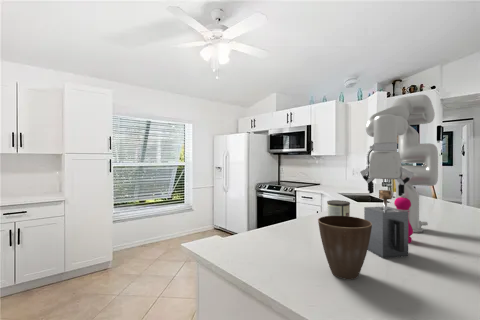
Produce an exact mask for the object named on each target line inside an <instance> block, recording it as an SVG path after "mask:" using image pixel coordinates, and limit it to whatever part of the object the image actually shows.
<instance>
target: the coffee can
mask: <svg viewBox="0 0 480 320" xmlns="http://www.w3.org/2000/svg"><path fill="white" fill-rule="evenodd" d="M326 204H327V216H350V217H351V211H350V210H351V209H350V205H351V203H350V201H348V200H347V201H346V200H338V199H335V200H334V199H331V200H327V201H326Z"/></svg>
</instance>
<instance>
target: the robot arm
mask: <svg viewBox="0 0 480 320" xmlns="http://www.w3.org/2000/svg"><path fill="white" fill-rule="evenodd" d="M434 119H435V109H434V106H433V103H432V100H431V98H430V97H429V95H427V94H416V95H409V96H402V97H400V98H397V99H395V100H394V101H393V102H392V104H391V105H390V107H388V108H384V109H382V110H381V111H378V112H376V113H374V114H372V115H371V116H370V117H369V118H368V120H367V122H366V125H365V131H366V134H367V136H368V137H371V138H373V143H372V145H370V146H369V149H370V150H372V151H373V152H372V151H371V153H370V157H369V165H368V167H367V168H364V169H363V170H360V175H361V177H362V179H364V181H366V183H367V191H368V193H369V194H374V189H375V187H374V183H375V182H373V181H374V180H375V179H379V180H394V183H395V200H396V199H397V198H399V197H400V196H402V195H403V194H404V195H405V197H404V198H407V199H409V200H410V202H411V207H410V208H409V210H410V211H409V212H410V213H409V214H408V218H409V222H410V224H411V226H412V229H413V234H417V233H423V232H424V228H423V227H424V226H428V224H429V223H428V221H421V220H420V194H419V192H418V191H417V189H416V188H415V187H414V186H422V187H423V186H425V187H434V186H435V185H437V184H438V182H439V150H438V148H437V146H436V144H433V143H420V142H419V141H420V134H419V133H418V131H417V130H416V129H415V128H414V127H413V126H416V125H425V124H426V125H427V124H430V123H432V122H433V121H434ZM402 163H405V164H425V165H402ZM367 173H368V176H367ZM395 208H397V207H396V206H395Z"/></svg>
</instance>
